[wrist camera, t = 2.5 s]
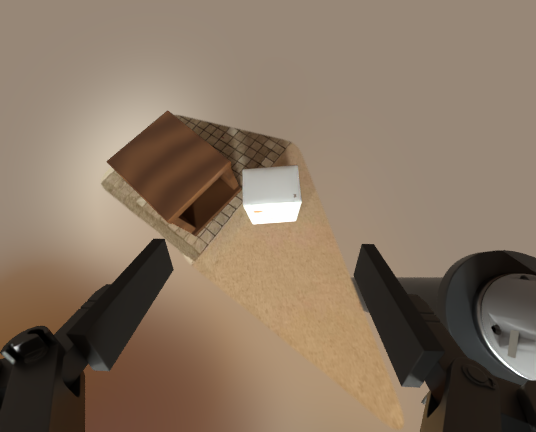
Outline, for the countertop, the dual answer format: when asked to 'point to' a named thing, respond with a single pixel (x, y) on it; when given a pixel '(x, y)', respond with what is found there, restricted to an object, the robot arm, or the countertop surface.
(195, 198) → the chest
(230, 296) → the countertop surface
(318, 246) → the countertop surface
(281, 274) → the countertop surface
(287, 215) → the small box
